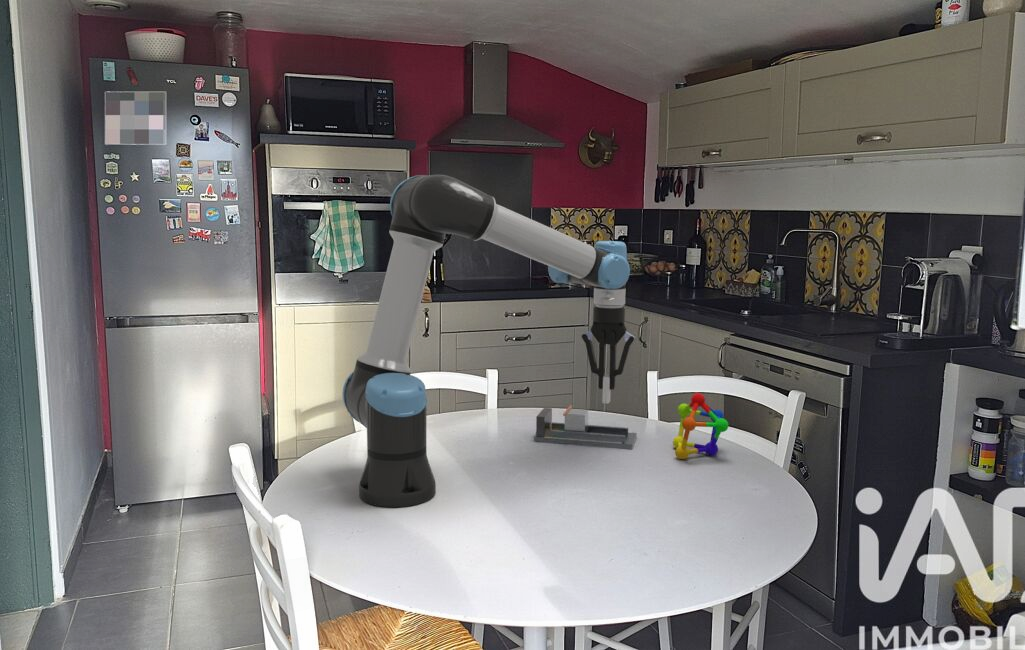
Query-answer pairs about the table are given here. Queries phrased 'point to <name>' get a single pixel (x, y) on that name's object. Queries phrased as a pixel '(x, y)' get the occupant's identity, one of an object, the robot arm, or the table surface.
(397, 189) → the robot arm
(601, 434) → the base
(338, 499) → the table surface
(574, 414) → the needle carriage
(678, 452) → the educational toy
